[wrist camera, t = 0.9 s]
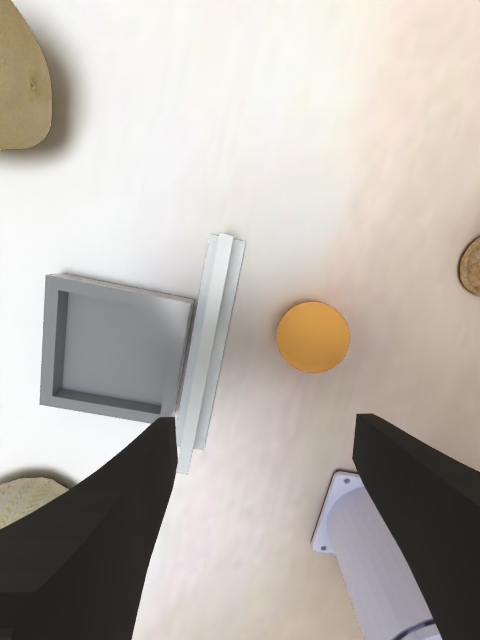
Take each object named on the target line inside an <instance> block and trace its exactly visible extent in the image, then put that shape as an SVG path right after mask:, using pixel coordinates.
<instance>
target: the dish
mask: <svg viewBox="0 0 480 640" xmlns="http://www.w3.org/2000/svg"><path fill="white" fill-rule="evenodd" d="M193 305H194V299H190V298H185V297H180V296H175V295H170V294H165V293H160V292H155V291H150V290H145V289H139V288H134V287H129V286H124V285H119V284H114V283H109V282H104V281H99V280H94V279H89V278H84V277H79V276H74V275H69V274H64V273H60V274H49V275H46V281H45V302H44V323H43V343H42V364H41V385H40V405H45V406H51V407H57V408H63V409H69V410H75V411H81V412H86V413H92V414H98V415H104V416H110V417H116V418H122V419H128V420H134V421H140V422H146V423H153V422H154V421H155V420H156V419H158V418H159V417H174V415H175V411H176V405H177V399H178V393H179V387H180V381H181V376H182V370H183V364H184V358H185V352H186V346H187V340H188V335H189V329H190V323H191V317H192V311H193Z"/></svg>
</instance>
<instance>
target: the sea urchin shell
mask: <svg viewBox="0 0 480 640" xmlns="http://www.w3.org/2000/svg"><path fill="white" fill-rule="evenodd" d="M68 490H69V489H68V488H65V487H64V486H62V485H60V484H59V483H57V482H56V481H54V480H53V479H48V478H44V477H38V478H23V479H21V478H18V479H17V480H12V481H11V482H7V483H3V484H1V485H0V529H2V528H4V527H6V526H8V525H10V524H11V523H13V522H15V521H17V520H19V519H21V518H22V517H24V516H26V515H28V514H30V513H32V512H33V511H35V510H37V509H38V508H40V507H42V506H43V505H45V504H47V503H48V502H50V501H52V500H53V499H55V498H57V497H58V496H60V495H62V494H63V493H65V492H67V491H68Z"/></svg>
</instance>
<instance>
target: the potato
mask: <svg viewBox="0 0 480 640" xmlns="http://www.w3.org/2000/svg"><path fill="white" fill-rule="evenodd" d="M51 120H52V90H51V80H50V75H49V71H48V67H47V63H46V60H45V57H44V55H43V52H42V50H41V48H40V46H39V44H38V42H37V40H36V38H35V36H34V35H33V33H32V31H31V29H30V28H29V26H28V25H27V23H26V21H25V20H24V18H23V17H22V15H21V14H20V12H19V11H18V9H17V8H16V7H15V5H14V4H13V3H12V1H11V0H0V150H7V149H26V148H30V147H33V146H35V145H37V144H39V143H40V142H41V141H42V140H43V139H44V138H45V137H46V136H47V134H48V132H49V130H50V127H51Z"/></svg>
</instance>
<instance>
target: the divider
mask: <svg viewBox="0 0 480 640" xmlns="http://www.w3.org/2000/svg"><path fill="white" fill-rule="evenodd" d="M245 243H246V242H245V241H241V240H236V239H234V236H232V235H227V234H222V233H220V234H219V236H217V235H213V234H210V235H209V241H208V246H207V252H206V258H205V264H204V269H203V275H202V281H201V287H200V292H199V298H198V304H197V310H196V315H195V321H194V327H193V333H192V338H191V344H190V350H189V356H188V362H187V367H186V373H185V379H184V385H183V390H182V396H181V402H180V408H179V413H178V419H177V425H176V442H177V446H181V449H180V454H179V460H178V465H177V471H176V473H181V474H188V471H189V467H190V462H191V457H192V453H193V449H199V450H204V446H205V441H206V436H207V431H208V426H209V421H210V416H211V411H212V406H213V401H214V396H215V391H216V386H217V381H218V377H219V372H220V367H221V362H222V357H223V352H224V347H225V342H226V337H227V332H228V327H229V322H230V317H231V312H232V308H233V303H234V298H235V293H236V288H237V283H238V278H239V273H240V268H241V263H242V258H243V253H244V248H245Z"/></svg>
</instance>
